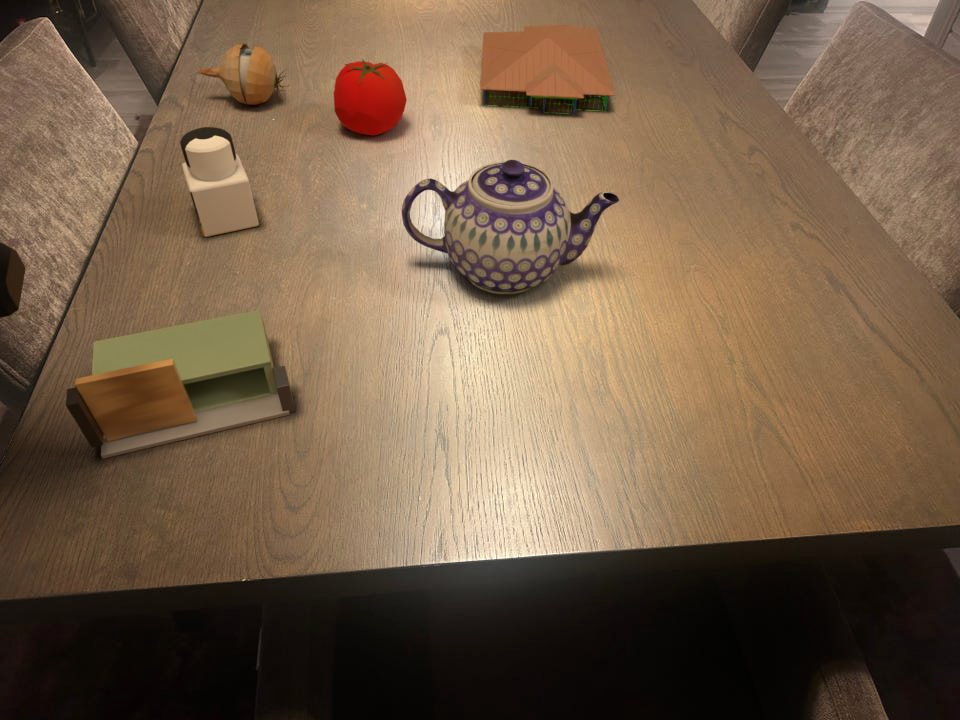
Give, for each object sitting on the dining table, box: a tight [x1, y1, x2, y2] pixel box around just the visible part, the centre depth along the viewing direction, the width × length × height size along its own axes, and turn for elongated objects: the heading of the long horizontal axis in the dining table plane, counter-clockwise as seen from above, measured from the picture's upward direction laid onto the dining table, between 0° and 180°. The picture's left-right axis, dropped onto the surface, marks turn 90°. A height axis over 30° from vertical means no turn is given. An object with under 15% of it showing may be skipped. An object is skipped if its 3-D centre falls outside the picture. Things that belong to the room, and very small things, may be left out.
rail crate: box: [91, 309, 296, 459], centre depth 67 cm, size 18×11×5 cm, turn 110°
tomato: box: [333, 58, 408, 137], centre depth 106 cm, size 12×12×10 cm
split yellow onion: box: [197, 41, 290, 106], centre depth 111 cm, size 9×9×15 cm
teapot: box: [401, 159, 620, 295], centre depth 79 cm, size 25×15×15 cm, turn 86°
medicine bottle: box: [179, 126, 260, 238], centre depth 86 cm, size 7×7×12 cm
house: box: [480, 24, 616, 115], centre depth 123 cm, size 23×33×8 cm
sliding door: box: [65, 359, 197, 448], centre depth 61 cm, size 9×2×8 cm, turn 110°
